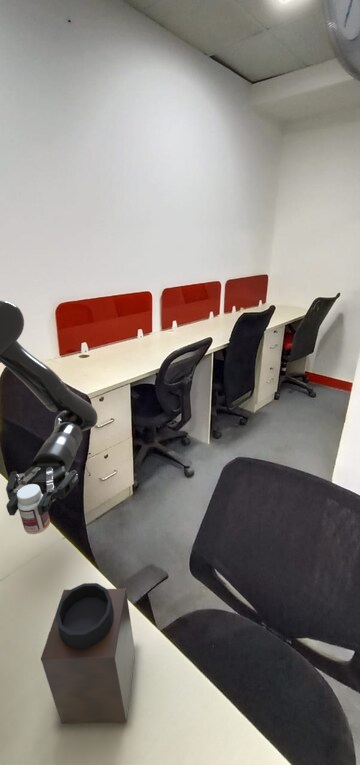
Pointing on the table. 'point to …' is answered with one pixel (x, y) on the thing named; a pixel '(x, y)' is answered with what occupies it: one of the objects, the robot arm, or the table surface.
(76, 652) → the stand
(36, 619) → the table surface
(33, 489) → the pill bottle
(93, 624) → the collar
